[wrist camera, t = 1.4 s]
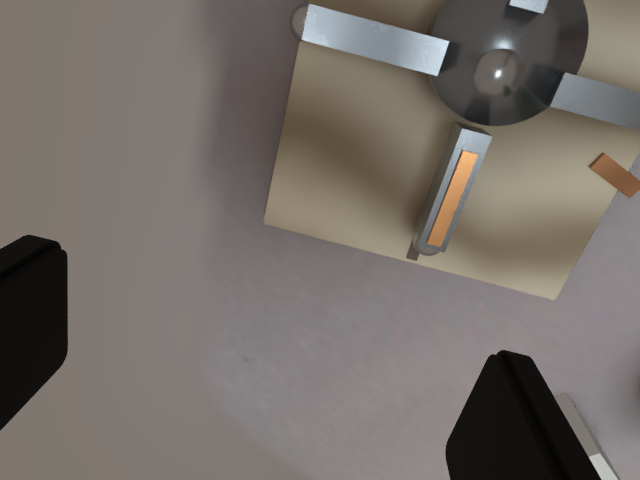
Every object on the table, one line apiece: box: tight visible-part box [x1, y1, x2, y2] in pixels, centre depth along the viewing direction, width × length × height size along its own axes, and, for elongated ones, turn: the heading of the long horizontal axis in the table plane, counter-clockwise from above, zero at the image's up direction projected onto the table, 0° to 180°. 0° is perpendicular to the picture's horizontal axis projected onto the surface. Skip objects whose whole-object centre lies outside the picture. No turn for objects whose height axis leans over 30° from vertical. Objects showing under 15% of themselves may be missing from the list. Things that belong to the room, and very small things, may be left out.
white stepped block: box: [554, 393, 620, 480], centre depth 30 cm, size 15×11×6 cm
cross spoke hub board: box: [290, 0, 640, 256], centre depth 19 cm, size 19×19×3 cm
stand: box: [263, 0, 640, 300], centre depth 22 cm, size 22×19×2 cm
